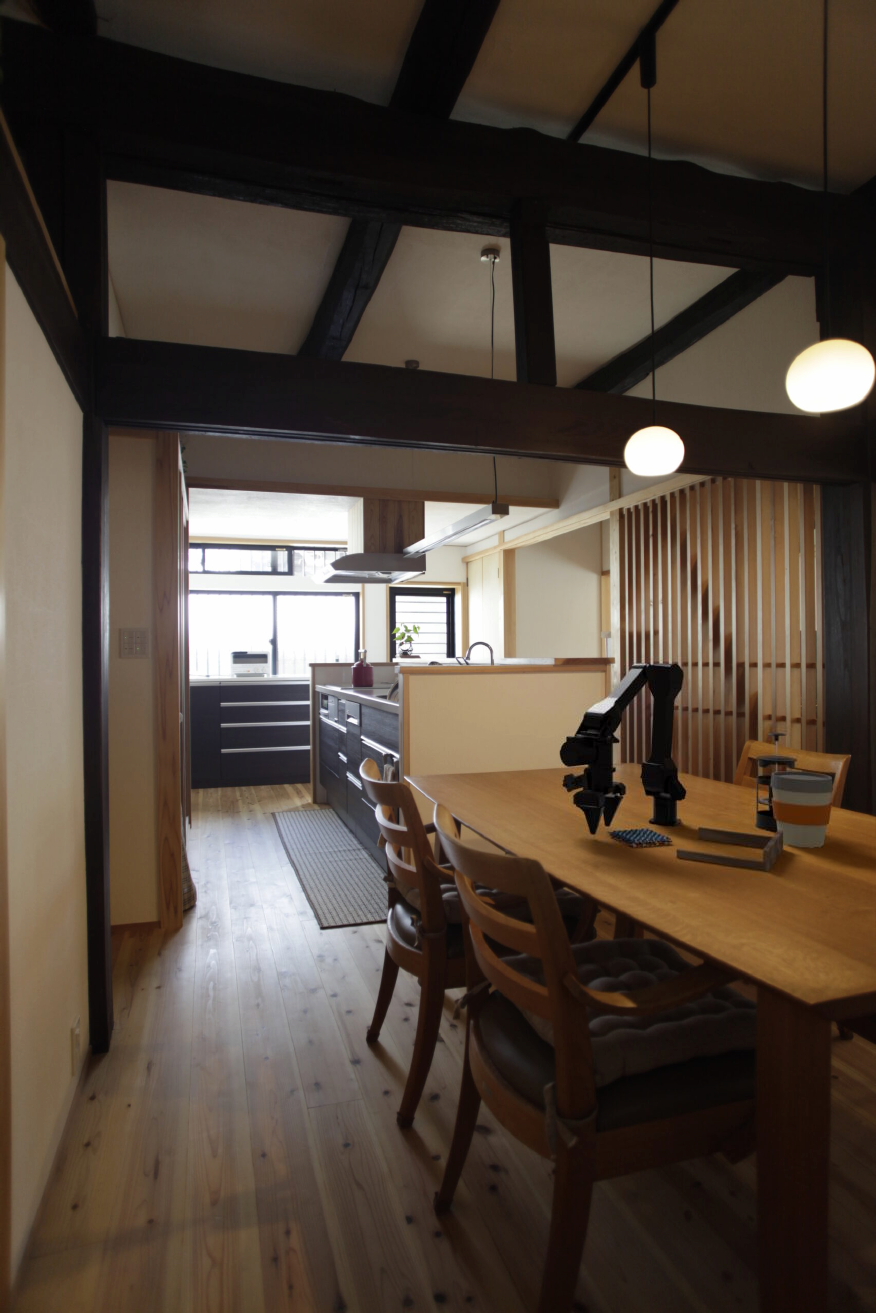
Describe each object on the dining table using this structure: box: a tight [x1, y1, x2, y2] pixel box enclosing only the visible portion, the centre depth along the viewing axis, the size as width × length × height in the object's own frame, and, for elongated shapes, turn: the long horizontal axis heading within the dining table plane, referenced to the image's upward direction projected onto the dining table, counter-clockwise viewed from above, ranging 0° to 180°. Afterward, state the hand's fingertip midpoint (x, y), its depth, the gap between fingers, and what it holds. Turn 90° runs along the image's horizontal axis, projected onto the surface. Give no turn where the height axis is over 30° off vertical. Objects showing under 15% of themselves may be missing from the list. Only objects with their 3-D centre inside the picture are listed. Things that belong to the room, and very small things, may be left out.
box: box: [676, 826, 784, 872], centre depth 153 cm, size 19×18×4 cm
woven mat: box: [609, 827, 673, 848], centre depth 164 cm, size 10×11×2 cm
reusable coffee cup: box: [770, 770, 834, 849], centre depth 162 cm, size 13×13×15 cm
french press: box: [754, 732, 798, 832], centre depth 177 cm, size 12×9×23 cm
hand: (600, 830), depth 169 cm, fingers open, 9 cm apart
